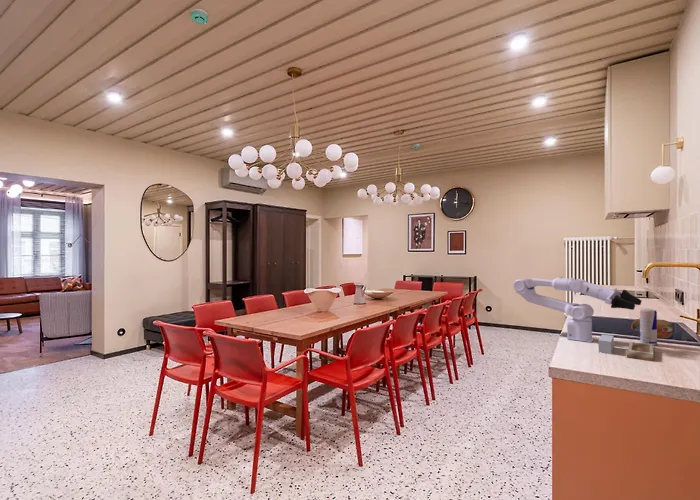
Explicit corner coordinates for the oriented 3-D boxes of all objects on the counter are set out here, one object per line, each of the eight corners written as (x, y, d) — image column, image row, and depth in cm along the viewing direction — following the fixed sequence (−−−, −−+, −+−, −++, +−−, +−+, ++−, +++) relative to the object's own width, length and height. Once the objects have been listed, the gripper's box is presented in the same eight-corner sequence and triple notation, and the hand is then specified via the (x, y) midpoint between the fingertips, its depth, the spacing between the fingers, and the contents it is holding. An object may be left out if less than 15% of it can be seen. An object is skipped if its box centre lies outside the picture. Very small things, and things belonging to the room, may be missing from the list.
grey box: (598, 352, 145) (598, 340, 145) (602, 346, 154) (601, 334, 154) (611, 354, 142) (610, 341, 142) (613, 347, 151) (613, 335, 151)
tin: (632, 336, 170) (632, 318, 169) (630, 334, 172) (630, 317, 172) (674, 339, 162) (674, 320, 162) (672, 338, 165) (671, 319, 165)
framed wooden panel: (626, 357, 138) (626, 350, 138) (629, 347, 151) (629, 341, 151) (654, 361, 132) (654, 354, 132) (654, 350, 146) (654, 344, 146)
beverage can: (657, 346, 152) (657, 310, 152) (640, 344, 155) (640, 309, 155) (656, 343, 156) (656, 308, 156) (639, 341, 160) (639, 307, 160)
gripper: (596, 288, 153) (634, 300, 143) (609, 281, 162) (646, 292, 151) (591, 303, 156) (629, 316, 145) (605, 295, 164) (641, 307, 154)
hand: (637, 305), depth 148 cm, fingers open, 7 cm apart
